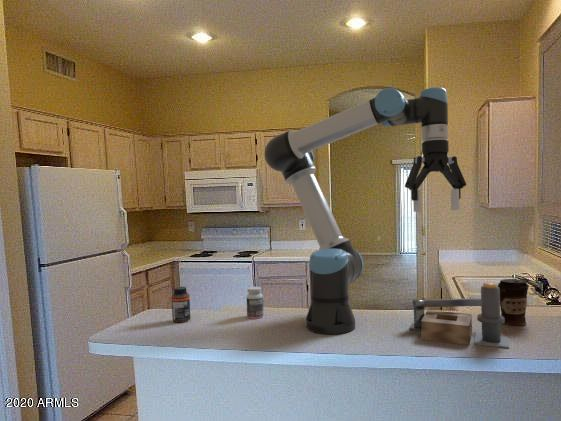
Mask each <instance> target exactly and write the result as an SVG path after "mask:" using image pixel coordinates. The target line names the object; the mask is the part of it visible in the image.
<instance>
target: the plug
mask: <svg viewBox="0 0 561 421" xmlns="http://www.w3.org/2000/svg"><path fill="white" fill-rule="evenodd" d="M480 299H481V306H480V308H481V310H480V311H481V313H479V314H477V321H478V322H481V334H482V340H484V341H486V342H490V343H499V342H501V336H502V335H501V334H502V333H501V324H505V323H504V322H505V318H504V317H503V316H501V307H500V289H499V287H498V284H497V283H495V282H483V284H482V286H480Z"/></svg>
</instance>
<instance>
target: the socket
mask: <svg viewBox="0 0 561 421" xmlns="http://www.w3.org/2000/svg"><path fill="white" fill-rule="evenodd" d="M472 321H473V320H472V313H463V312H452V311H443V310H429V309H427V310H426V312H424V317H423V319H422V320H421V331H420V332H421V335H420V336H421V340H427V341H435V342H443V343H450V344H458V345H466V346H467V345H468V346H470V345H471V339H472V332H473V326H472V325H473V323H472Z"/></svg>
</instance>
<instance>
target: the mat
mask: <svg viewBox="0 0 561 421" xmlns="http://www.w3.org/2000/svg"><path fill="white" fill-rule="evenodd" d="M473 344H474V345H477V346H486V347H493V348H494V347H495V348H503V349H510V342H509V337H508V336H502V335H501V342H499V343H490V342H486V341H484V340H482V333H475V335H474V342H473Z"/></svg>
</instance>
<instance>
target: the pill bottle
mask: <svg viewBox="0 0 561 421" xmlns="http://www.w3.org/2000/svg"><path fill="white" fill-rule="evenodd" d="M247 293H248V294H247V295H246V316H247V318H248V319H251V318H252V319H254V320H256V319H257V318H258V319H262V318H263V317H264V316H265V314H264V313H265V312H264V295H263V293H262V287H261V286H250V287H248V288H247ZM258 319H257V320H258Z"/></svg>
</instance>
